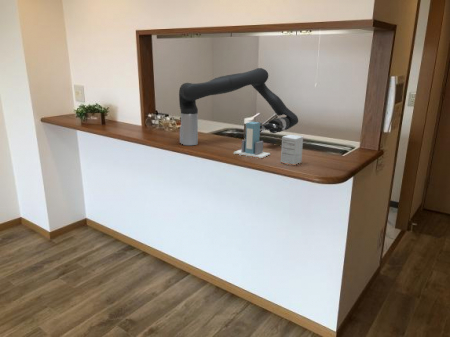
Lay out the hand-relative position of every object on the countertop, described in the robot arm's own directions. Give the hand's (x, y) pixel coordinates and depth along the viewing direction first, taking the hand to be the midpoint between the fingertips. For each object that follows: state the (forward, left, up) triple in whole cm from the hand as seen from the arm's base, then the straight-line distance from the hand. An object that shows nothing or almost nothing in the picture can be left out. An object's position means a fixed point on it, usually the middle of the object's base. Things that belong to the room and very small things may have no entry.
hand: (263, 129), depth 191 cm
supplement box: (+22, -13, -11) cm, 28 cm away
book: (0, -11, -10) cm, 15 cm away
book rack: (0, -11, -11) cm, 16 cm away
